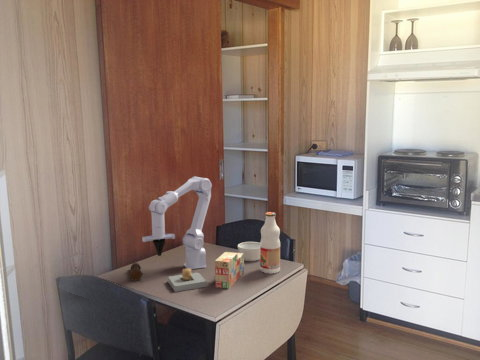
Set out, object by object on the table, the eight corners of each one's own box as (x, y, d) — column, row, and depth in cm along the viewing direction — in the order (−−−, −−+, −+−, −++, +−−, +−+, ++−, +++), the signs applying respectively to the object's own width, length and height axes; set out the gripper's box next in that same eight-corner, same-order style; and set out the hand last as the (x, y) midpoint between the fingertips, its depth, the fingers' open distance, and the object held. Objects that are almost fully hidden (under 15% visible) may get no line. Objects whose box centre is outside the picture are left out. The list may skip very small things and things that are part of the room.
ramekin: (232, 259, 223) (232, 246, 222) (246, 252, 234) (246, 240, 233) (254, 264, 216) (254, 250, 215) (267, 256, 227) (267, 244, 226)
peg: (189, 281, 193) (188, 267, 192) (193, 284, 189) (192, 270, 189) (181, 283, 190) (180, 269, 190) (185, 286, 187) (184, 272, 186)
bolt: (137, 272, 210) (138, 283, 195) (127, 268, 209) (127, 278, 194) (143, 262, 210) (144, 271, 196) (133, 257, 209) (133, 267, 194)
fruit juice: (277, 275, 200) (277, 215, 196) (257, 272, 203) (257, 214, 199) (282, 268, 209) (282, 211, 205) (263, 266, 212) (263, 210, 208)
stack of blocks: (231, 270, 207) (231, 245, 205) (244, 272, 205) (244, 247, 203) (215, 287, 186) (214, 260, 185) (228, 289, 184) (228, 261, 183)
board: (198, 277, 198) (198, 272, 198) (206, 286, 187) (206, 281, 187) (168, 281, 193) (168, 276, 192) (174, 291, 182) (174, 286, 181)
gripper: (171, 222, 203) (172, 250, 205) (140, 225, 198) (141, 254, 200) (175, 226, 197) (176, 255, 199) (143, 229, 191) (144, 259, 193)
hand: (159, 255), depth 199 cm, fingers closed
